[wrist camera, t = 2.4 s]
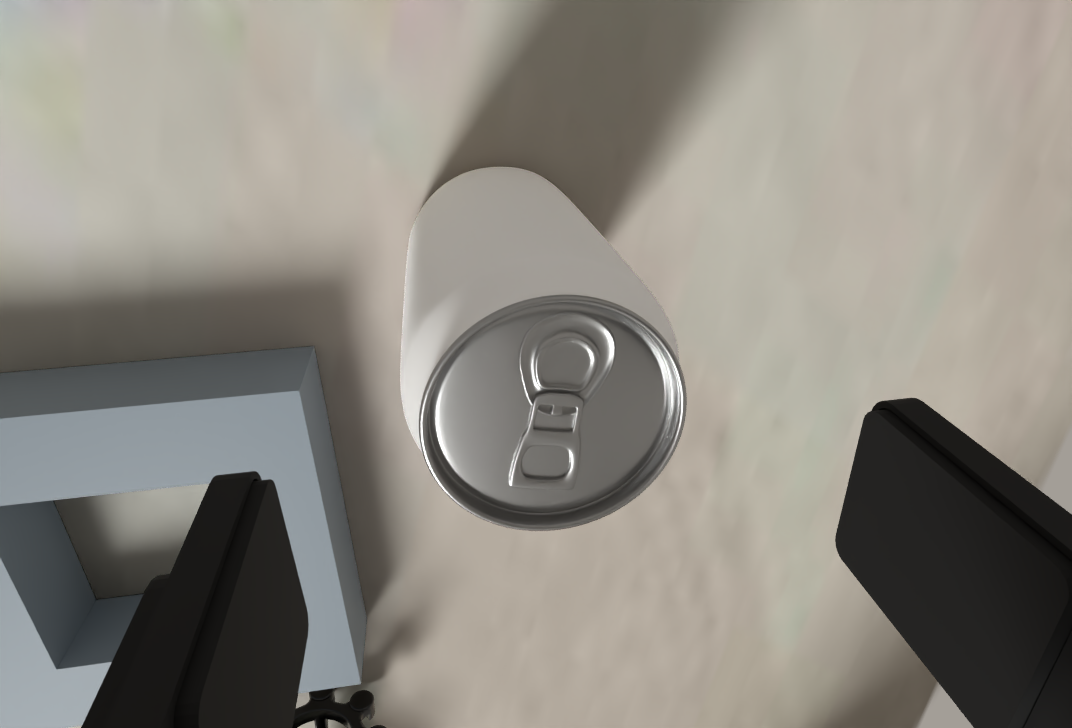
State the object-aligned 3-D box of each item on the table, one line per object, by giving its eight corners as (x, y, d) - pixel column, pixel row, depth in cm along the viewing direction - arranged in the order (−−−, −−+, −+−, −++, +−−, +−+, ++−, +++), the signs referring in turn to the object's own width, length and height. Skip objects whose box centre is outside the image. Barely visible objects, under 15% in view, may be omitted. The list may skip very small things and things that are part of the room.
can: (600, 176, 24) (745, 293, 13) (566, 342, 26) (665, 550, 16) (415, 150, 22) (411, 255, 12) (400, 327, 25) (385, 543, 14)
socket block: (314, 345, 25) (299, 390, 22) (367, 619, 31) (361, 683, 28) (-104, 382, 23) (-185, 435, 20) (41, 663, 29) (-4, 738, 26)
